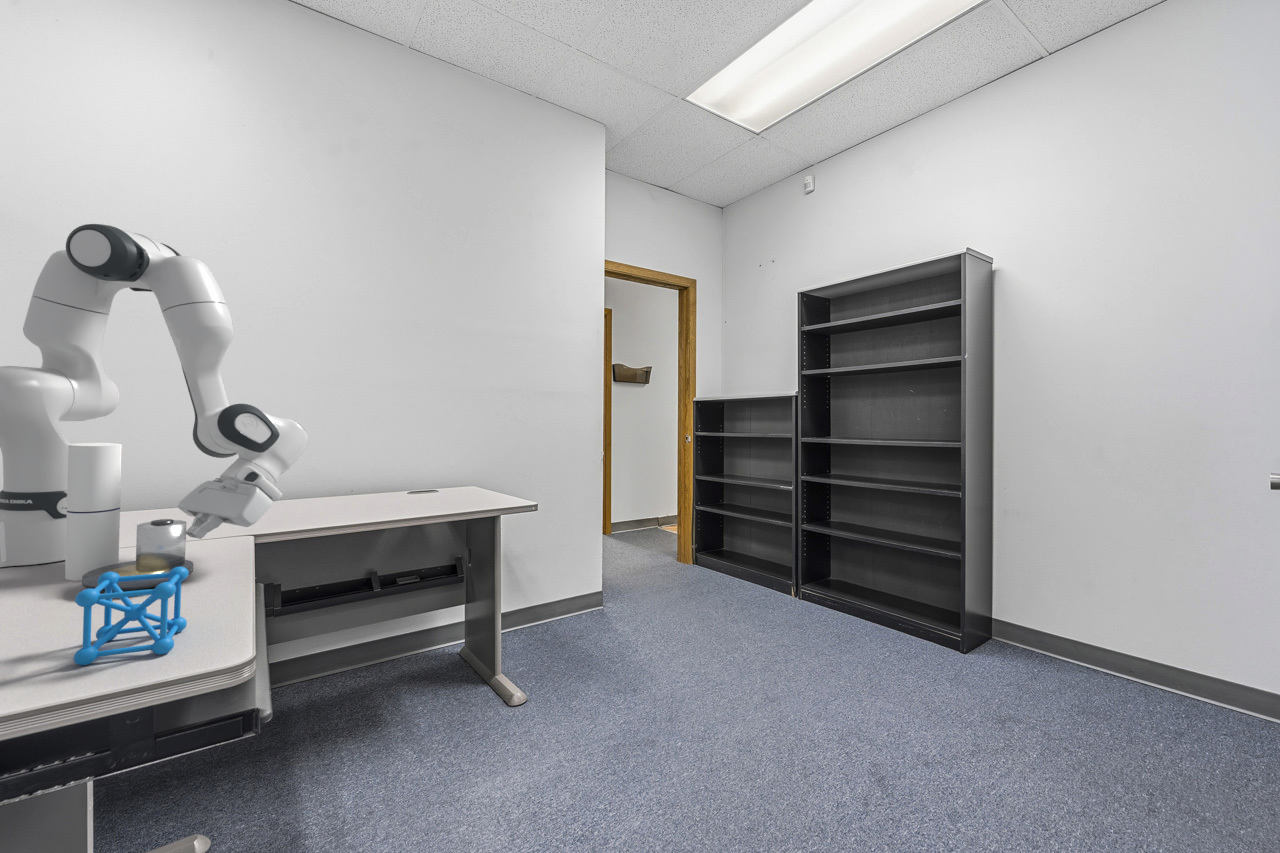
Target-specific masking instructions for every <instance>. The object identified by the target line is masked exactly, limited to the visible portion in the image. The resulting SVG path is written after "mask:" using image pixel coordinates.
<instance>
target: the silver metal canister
mask: <svg viewBox="0 0 1280 853" xmlns="http://www.w3.org/2000/svg"><path fill="white" fill-rule="evenodd" d="M186 531H187V521H186V520H180V519H171V518H161V519H153V520H151V521H146V522H143V523H138V524H137V525H136V543H135V544H136V546H135V561H136V570H138V571H161V570H168V569H173V568H175V567H180V566H183V565H184V564H185V560H186V548H187V547H186V546H187V543H186V542H187V534H186Z"/></svg>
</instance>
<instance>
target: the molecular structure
mask: <svg viewBox="0 0 1280 853" xmlns="http://www.w3.org/2000/svg"><path fill="white" fill-rule="evenodd" d="M188 574H189V573H188V570H187V569H186V568H185V567H175V568H173V569H172V570H171V571H170V572H169V573H160V574H147V575H135V576H122V577H120V576H119V574H117V573H115V572H106V573H104V574H102V575H101V576H100V577H99V578H98V581H97V583H98V586H97V587H96V588H94V589H88V588H85V589H82V590H80V591H79V592H78V593H77V594H76V596H75V598H74V601H75V602H74V603H75V604H76V605H77V606H78V607H81V608H83V615H82V616H83V619H82V620H83V622H82V623H83V624H82V647H81V648H79V649H78V650H77V651H76V652H75V653H74V655H73V658H72V659H73V662H74V663H75V664H76V665H78V666H87V665H90V664H92V663H93V662H96V660H97V659H98V658H101V657H102V658H103V657H108V656H116V655H123V654H124V655H125V654H131V653H137V652H145V651H146V652H147V651H152V652H153V653H154V654H155V655H158V656H161V655H166V654H168V653H170V651H172V649H173V648H174V647H175V641H174V640H173V636H174V635H175V634H178V633H180V632H182V631H184V630H185V629H186V627H187V623H188V621H187V620H186V618H185V617H183V616H181V606H182V605H181V604H182V603H181V602H182V601H181V600H182V582H183V581H186V580H187V578H188V576H189V575H188ZM160 578H169V580H168V581H167V582H164V583H161V584H159V585H157V586H156V587H155V589H149V590H138V591H127V592H123V591H122V590H121V589H120V587H119V586H118V585H117V584H118V583H119V582H124V581H136V580H148V579H160ZM103 588H105V592H103V593H100V592H101V591H102V589H103ZM112 590H113V591H114V592H115V593H112ZM142 596H148V597H147V598H146V599H145V600H143V601H142V603H133V601H131V600H130V597H142ZM172 597H174V598H173V599H174V605H173V617H172V618H171V619H169V617H168V615H169V612H168V609H169V599H170V598H172ZM113 599H119V600H120V601H121V602H122V603H123V604H124V605H123V604H120V603H117V602H113ZM158 600H160V616H159V615H155V614H153V613H149V612H147V610H148V609H147V608H148V607H150V605H151V606H152V605H153V603H155V602H157V601H158ZM95 605H99V606H103V607H104V612H103V614H104V616H103V625H102V626H101V627H100V628H98V629H97V631H96V633H95V638H96V640H95V642H93V644H91V643H92V642H91V641H92V609H93V606H95ZM112 610H116V611H119V612H123V613H124V614H123V615H124V617H122V618H121V619H120V620H119V621H117V622H116V623H115V624H112ZM148 620H149V621H151V622H152V621H153V622H156V623H159V624H150V622H149V621H148ZM135 621H138V623H139V624H140V625H141V626H134V627H133V626H132V627H126V628H124V627H125V626H126V625H127V624H128V623H129V622H135ZM158 630H159V633H158V632H157V631H158ZM141 632H146V633H147V634H148V635H149V636H150V637H151V639H152V640H153V641H154V642H153V643H152V644H144V645H136V646H128V647H121V648H112V649H106V650H99V649H100V648H101V647H102V646H103V645H105V644H106V643H107V642H110V641H113V640H114V639H115V638H116V637H118V635H125V634H134V633H141Z"/></svg>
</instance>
